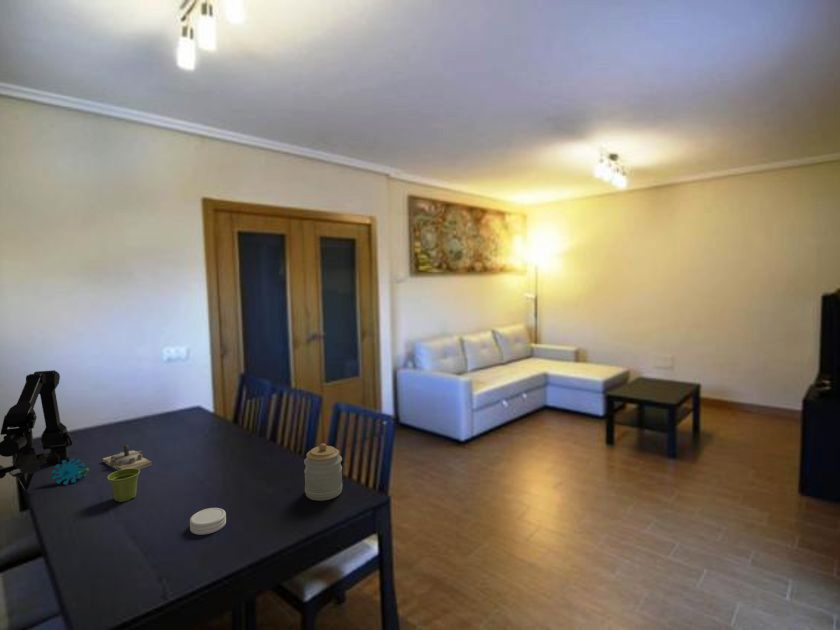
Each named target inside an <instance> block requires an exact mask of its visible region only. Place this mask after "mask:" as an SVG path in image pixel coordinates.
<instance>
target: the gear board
mask: <svg viewBox="0 0 840 630" xmlns="http://www.w3.org/2000/svg"><path fill="white" fill-rule="evenodd" d="M129 446H130V445H129V444H126V445H123V451H121V452H119V453H117V454H114V455H110V456H106V457H103V458H102V463H104V464H105V465H107V466H110V467H111V468H112V469H114V468H115V469H114V470H116V469H117V470H116V471H118V470H122V469H127V468H137V469H139V470H142V469H144V468H145V469H146V468H148V467H151V466H152V465H153V462H152V461H151V460H149V459H148V458H145V457H143V455H144V454H143V451H142V450H139V451H136V450H135V449H132V450H130V449H129Z"/></svg>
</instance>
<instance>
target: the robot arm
mask: <svg viewBox="0 0 840 630" xmlns="http://www.w3.org/2000/svg"><path fill="white" fill-rule="evenodd" d="M60 379H61V375H60V373H59V372H58V371H56V370H54V369H53V370H39V371H35V372H33V373H30V374H27V375H26V376H25V383H24V385H23V388H22V390H21V393H20V395H19V398H18V400H17V402H16V403H15V404H14V405H13V406H11V407H10V408H9V409H8V411H7V412H6V414H4V418H3V421H2V425H1V428H0V429H1V430H0V435H1V436H3V435H4V436H3V440H1V441H0V456H2V457H4V458H8V457H11V459H12V461H11V462H12V465H8V466H3V465H2V464H1V465H0V479H4V477H6V475H7V474H9V475H10V476H11V477H14V478H17V480H18V482H19V483H20V485H21V486H22V488H23V489H24V490H25V491H27V490H28V489H29V488H30V485H31V481H32V479H33V477H34V474H35V473H36V472H37V471H39V470H41V468H40V466H41V465H44V464H47V465H49V466H50V465H52V466H54V465H55V466H56V465H57V464H63V463H62V461H63V460H66V462H69V461H70V458H71V457H70V456H69V455H68V447H71V446H73V436H71V434H70V432H69V431H68V428H67V426H66V425H64V423H62V422H61V418H60V413H59V412H60V411H59V405H58V399H57V393H56V389H57V387H58V386H59V384H60ZM39 396H40V401H41V402H40V403H41V408H42V413H43V418H44V423H45V428H44V430H43V432H42V434H41V436H40V441H41V445H42V450H43V451H45V450H49V452H48V453H45V452H42V453H39V454H37V453H36V452H35V451H36V450H35V447H34V437H33V436H34V435H33V429H34V428H35V425H36V420H37V415H36V414H37V413H36V411H35V409H34V408H35V406H36V402H37V399H38V397H39Z"/></svg>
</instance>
